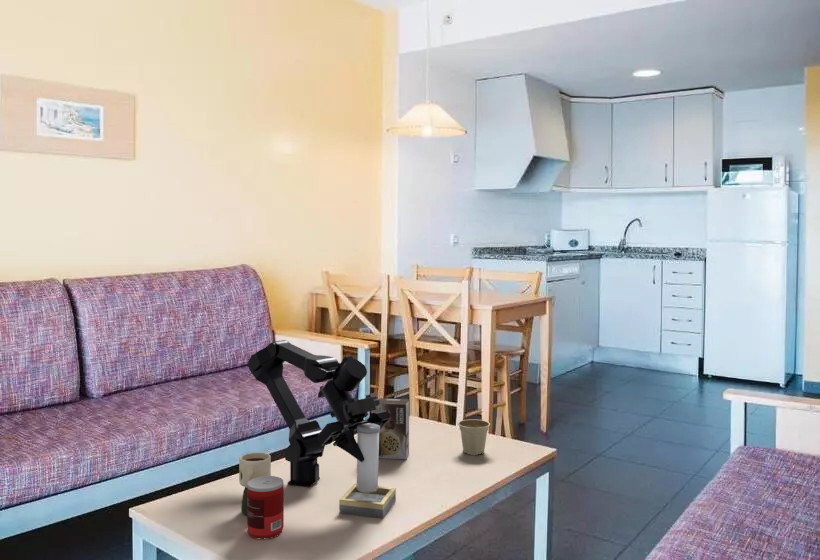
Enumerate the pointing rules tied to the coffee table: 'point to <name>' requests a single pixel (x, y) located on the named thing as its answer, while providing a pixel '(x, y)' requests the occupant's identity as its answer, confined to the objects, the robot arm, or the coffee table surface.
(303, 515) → the coffee table surface
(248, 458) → the character mug
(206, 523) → the coffee table surface
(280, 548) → the coffee table surface
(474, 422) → the flower pot
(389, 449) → the coffee box
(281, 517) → the canned food
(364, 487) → the tall white tube
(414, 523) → the coffee table surface
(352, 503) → the tan rimmed dish
